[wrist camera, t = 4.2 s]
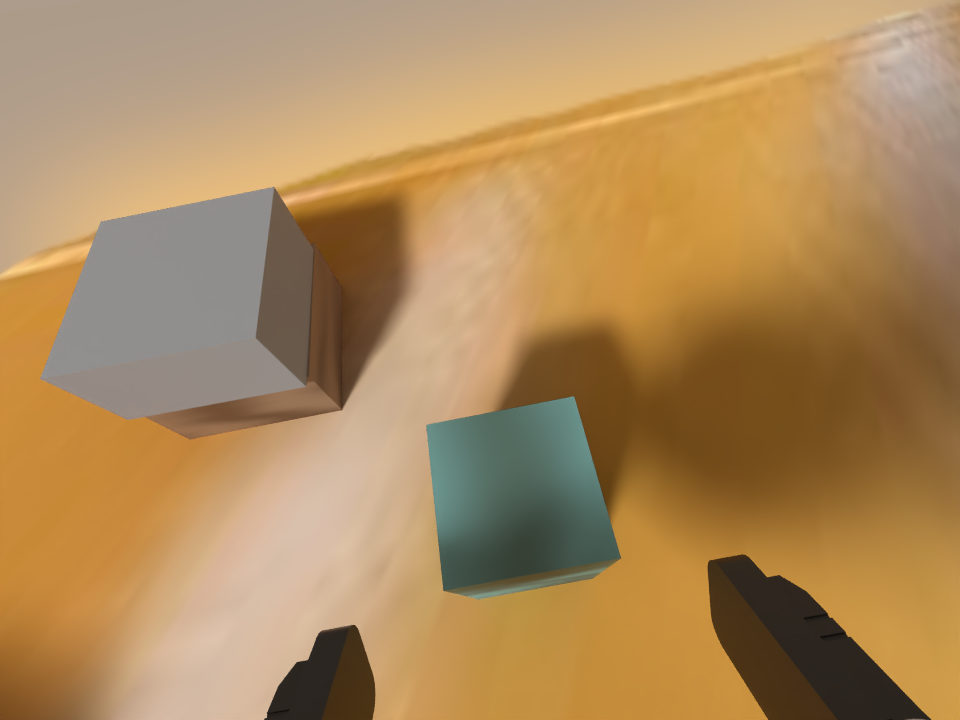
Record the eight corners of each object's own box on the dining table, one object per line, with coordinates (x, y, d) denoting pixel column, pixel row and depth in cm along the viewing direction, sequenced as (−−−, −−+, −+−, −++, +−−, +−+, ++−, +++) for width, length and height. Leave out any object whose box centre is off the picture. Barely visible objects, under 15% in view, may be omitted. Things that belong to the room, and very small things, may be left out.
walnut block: (343, 290, 27) (314, 243, 24) (344, 411, 23) (309, 376, 20) (214, 316, 27) (167, 272, 24) (193, 440, 23) (132, 410, 20)
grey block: (313, 249, 24) (274, 187, 20) (306, 386, 20) (255, 337, 16) (165, 278, 24) (100, 221, 20) (128, 419, 20) (40, 378, 16)
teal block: (563, 466, 20) (573, 396, 14) (592, 578, 18) (620, 558, 12) (463, 485, 20) (426, 424, 14) (478, 599, 18) (443, 590, 12)
